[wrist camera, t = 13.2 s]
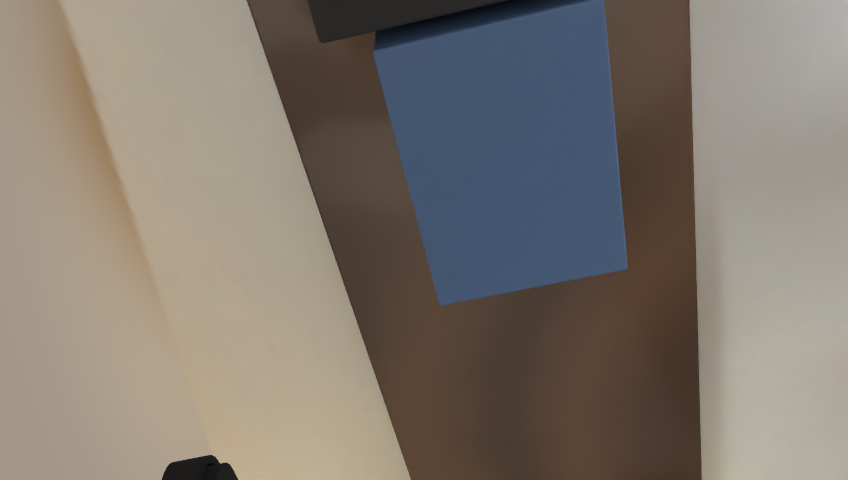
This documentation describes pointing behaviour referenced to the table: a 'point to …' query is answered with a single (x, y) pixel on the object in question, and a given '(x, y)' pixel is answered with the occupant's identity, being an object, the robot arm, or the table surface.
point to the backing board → (525, 309)
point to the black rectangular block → (378, 14)
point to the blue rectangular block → (507, 143)
